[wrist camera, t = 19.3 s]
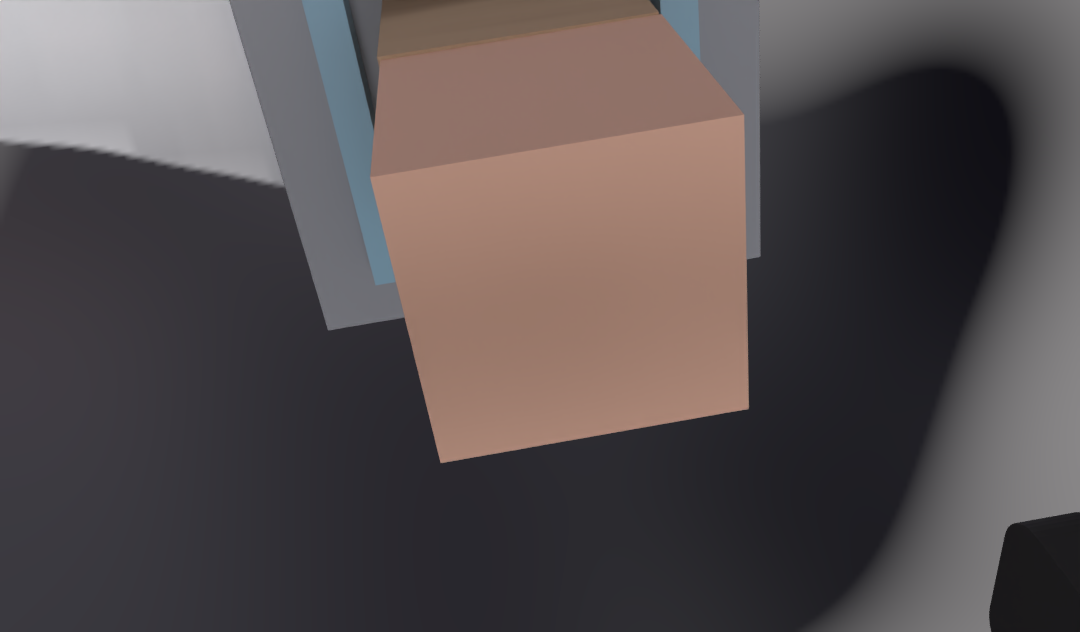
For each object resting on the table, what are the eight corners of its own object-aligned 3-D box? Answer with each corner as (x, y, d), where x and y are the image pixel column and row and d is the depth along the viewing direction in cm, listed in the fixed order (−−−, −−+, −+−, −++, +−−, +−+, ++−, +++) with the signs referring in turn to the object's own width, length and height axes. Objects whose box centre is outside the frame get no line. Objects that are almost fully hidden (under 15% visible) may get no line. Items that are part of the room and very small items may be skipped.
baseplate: (191, -158, 24) (172, -147, 22) (746, -245, 24) (774, -241, 22) (330, 313, 31) (325, 351, 29) (751, 242, 32) (772, 275, 30)
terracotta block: (380, 60, 20) (370, 177, 15) (661, 13, 20) (744, 114, 15) (433, 300, 23) (440, 463, 18) (675, 259, 24) (748, 408, 18)
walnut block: (383, -13, 25) (376, 57, 20) (609, -49, 25) (658, 12, 20) (426, 194, 28) (430, 298, 23) (626, 161, 29) (672, 257, 24)
